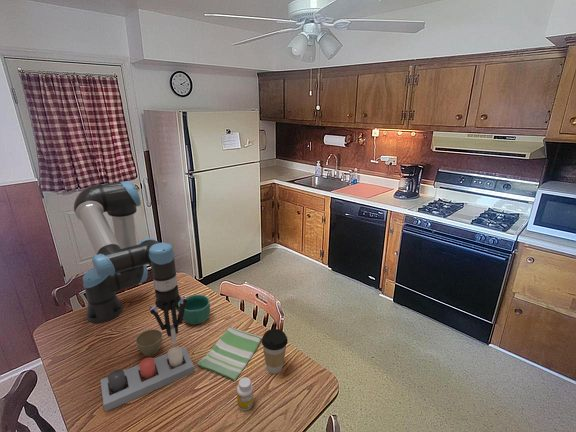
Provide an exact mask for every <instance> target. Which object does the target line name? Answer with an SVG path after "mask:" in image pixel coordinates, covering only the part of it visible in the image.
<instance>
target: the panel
mask: <svg viewBox="0 0 576 432" xmlns="http://www.w3.org/2000/svg"><path fill="white" fill-rule="evenodd" d="M180 348H181V349H182V355H183V365H181V366H178V367H176V368H174V369H172V368H170V364H169V357H168V352H167V353H164V354H163V355H160V356H157V357H154V358H153V359H154V362H155V368H156V376H155V377H152V378H150V379H148V380H145V381H144V380H142V378H141V372H140V366H139V364H137V365H135V366H132V367H130V368H127V369H123V371H124V375H125V379H126V383H127V385H128V387H126V389H124V390H122V391H119V392H117V393H115V394H112V393H111V391H110V386H109V381H108V376H107V377H104V378H101V379H100V386H101V395H102V404H103V408H104V412H109V411H110V410H113V409H115V408H117V407H120V406H122V405H125V404H127V403H128V402H131V401H133V400H135V399H138V398H140V397H142V396H144V395H147V394H149V393H151V392H153V391H155V390H158V389H161V388H162V387H165V386H167V385H169V384H171V383H173V382H176V381H179V380H180V379H182V378H185V377H187V376H189V375H191V374H192V375H193V374H195V373H196V370H195V365H194V363H193V361H192V359H191V357H190V355H189V352H188V350H187V349H186V346H182V347H180ZM110 393H111V394H110Z"/></svg>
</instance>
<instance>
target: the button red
mask: <svg viewBox="0 0 576 432" xmlns="http://www.w3.org/2000/svg"><path fill="white" fill-rule="evenodd" d="M138 365H139V366H140V372H141V376H140V378H141V381H145V380H148V379H150V378H152V377H155V376H157V370H156V368H155V362H154V358H153V357H145V358H143V359H142V360H141V361H140V362H139V364H138Z"/></svg>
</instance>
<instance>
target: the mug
mask: <svg viewBox="0 0 576 432" xmlns="http://www.w3.org/2000/svg"><path fill="white" fill-rule="evenodd" d="M186 299H187V303H186V305H185V310H184V316H183V321H185V322H186V323H188V324H191V325H199V324H201V323H204V322H205V321H207V320H208V318H209V317H210V314H211V305H210V304H211V303H210V299H209V297H208V296H206V295H203V294H194V295H190V296H188V297H186ZM179 306H180V301H179V303H178V305H177V306H176V312H177V313H178V312H179Z"/></svg>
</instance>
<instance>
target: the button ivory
mask: <svg viewBox="0 0 576 432" xmlns="http://www.w3.org/2000/svg"><path fill="white" fill-rule="evenodd" d="M181 348H182V347H180V346H174V347H172V348H170V349H169V350H168V352H167V353H168V357H169V368H170V369H174V368H176V367H178V366H181V365H183V364H184V361H183V355H182V349H181Z"/></svg>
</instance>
